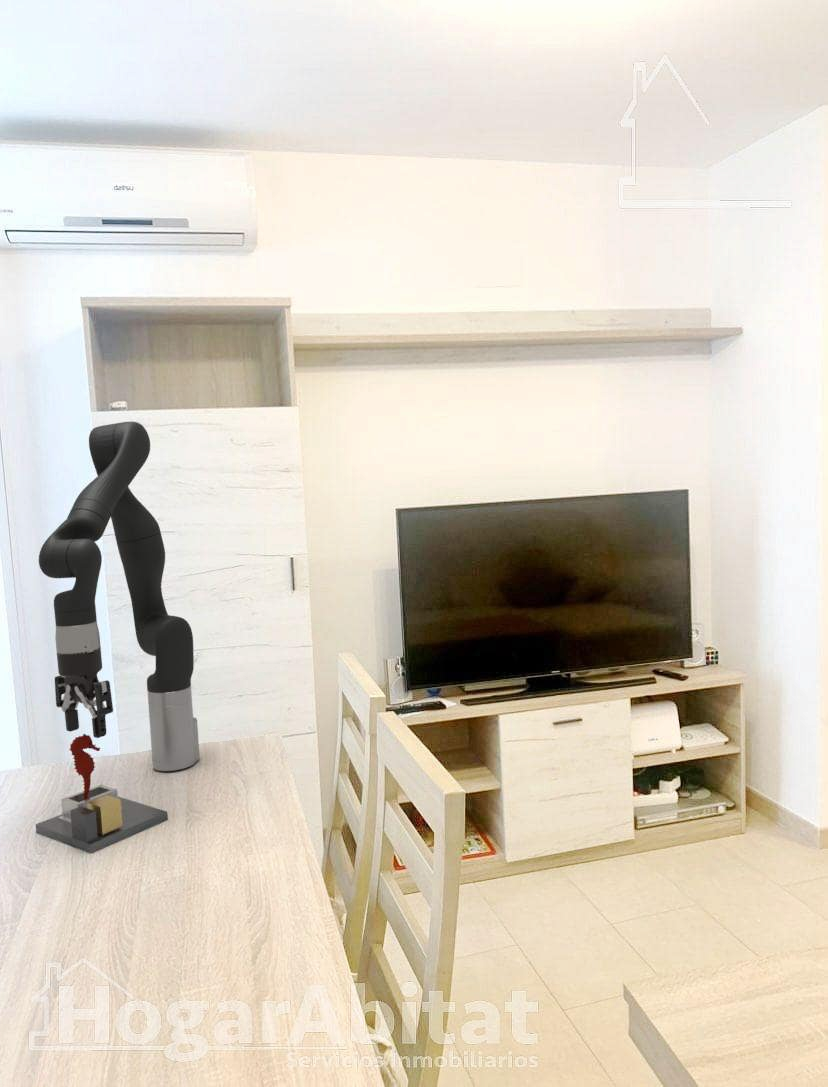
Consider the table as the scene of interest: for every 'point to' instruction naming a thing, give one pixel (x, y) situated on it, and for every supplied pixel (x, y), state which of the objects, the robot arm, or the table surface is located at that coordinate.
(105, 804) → the slider
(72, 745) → the toy
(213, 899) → the table surface
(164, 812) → the press frame
